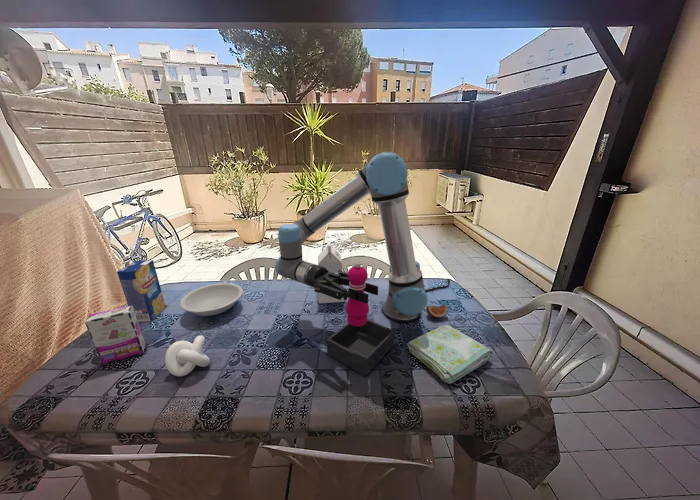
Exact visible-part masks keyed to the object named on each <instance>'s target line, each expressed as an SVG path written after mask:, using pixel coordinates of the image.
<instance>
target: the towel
mask: <svg viewBox="0 0 700 500" xmlns="http://www.w3.org/2000/svg"><path fill="white" fill-rule="evenodd" d="M406 346H407V347H408V352H409V353H410V354H411V355H413V356H414V357H416V358H417V360H419V361H420V362H421V363H422V364H424V365H425V366H426V367H427V368H429V369H430V370H431V371H433V373H434V374H436V375H437V376H438V377H439V379H440V380H441V381H443V382H444V383H446V384H449V385H451V384H453V383H455V382H457V381H458V380H460V379H462V378H463V377H465V376H467V375H468V374H470V373H472V372H473V371H475V370H477V369H478V368H480V367H481V366H483V365H485V364H486V363H487V362H488V361H489V360H490V359H491V358H492V356H493V350H492V349H490V348H488V347H487V346H485V345H484V344H483V343H480V342H479V341H477V340H475V339H474V338H472V337H470V336H468V335H466V333H464V332H462V331H460V330H459V329H456V328H454V327H452V326H450V325H448V324H444V325H441V326H438V327H437V328H435V329H433V330H431V331H428V332H426V333H424V334H422V335H419V336H418V337H416V338H414V339H411V340H410V341H409V342H408V343H407V344H406Z"/></svg>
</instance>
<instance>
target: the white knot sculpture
mask: <svg viewBox="0 0 700 500" xmlns="http://www.w3.org/2000/svg"><path fill="white" fill-rule="evenodd" d="M205 342H206V338H205V336H204V335H201V334H200V335H197V336H196V337H195V338H194V340H193V342H190V341H188V340H178V341H175V342H173V343H172V344H171V345H170V346H169V347H168V348H167V350H166V353H165V355H164V365H165V367H166V369H167V371H168V372H169V373H170V374H171V375H172V376H175V377H179V378H181V377H185V376H187V375H189V374H190V373H191V372H193V371H194V370H195V367H196V366H197V367H201V368H206V367H208V366H209V365H210V364H211V360H210V359H211V358H210V357H208V355H206V354H205V353H204V352H203V351H202V350H203V347H204V345H205Z"/></svg>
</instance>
